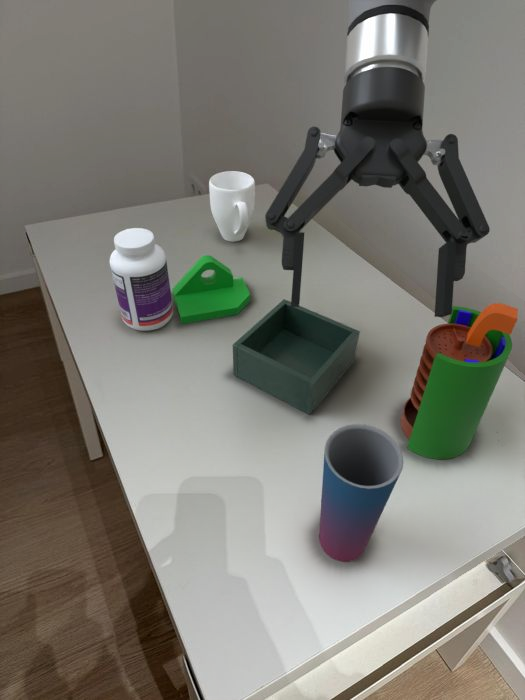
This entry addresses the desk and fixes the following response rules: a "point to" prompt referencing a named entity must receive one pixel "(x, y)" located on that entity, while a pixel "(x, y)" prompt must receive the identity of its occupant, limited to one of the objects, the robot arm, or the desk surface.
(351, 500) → the cup
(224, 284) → the bracket
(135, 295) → the pill bottle
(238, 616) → the desk surface
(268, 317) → the holder
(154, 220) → the desk surface
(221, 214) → the mug
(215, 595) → the desk surface
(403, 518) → the desk surface
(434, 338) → the coaster caddy
